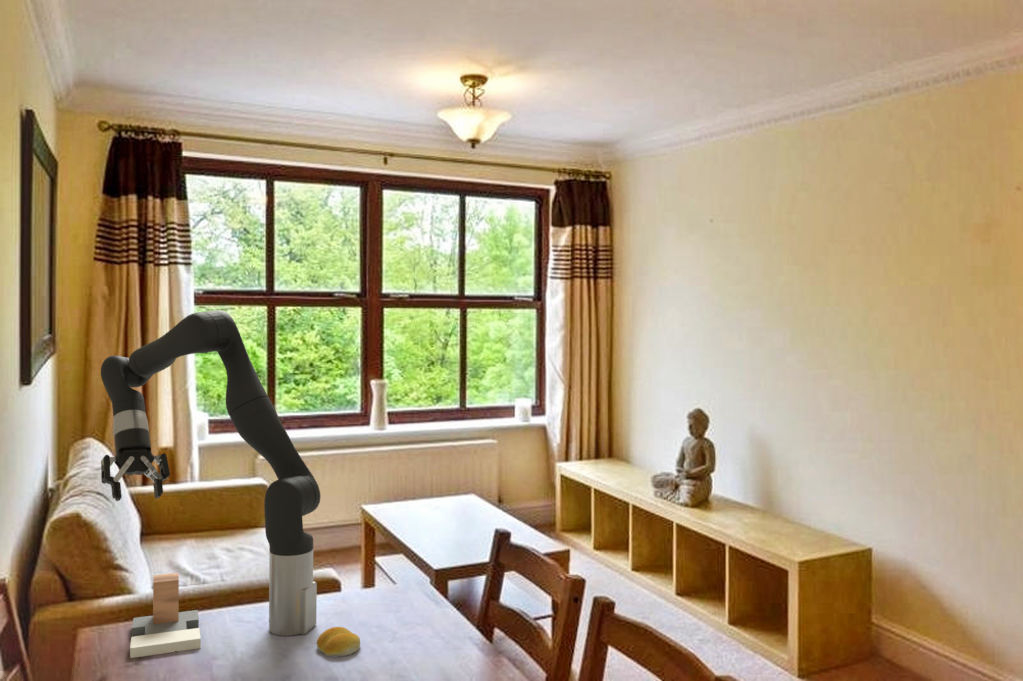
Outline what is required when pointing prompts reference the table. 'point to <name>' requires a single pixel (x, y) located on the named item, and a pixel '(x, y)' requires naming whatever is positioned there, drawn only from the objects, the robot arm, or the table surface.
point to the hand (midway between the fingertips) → (138, 498)
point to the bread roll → (338, 642)
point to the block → (165, 598)
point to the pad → (165, 642)
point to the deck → (165, 624)
